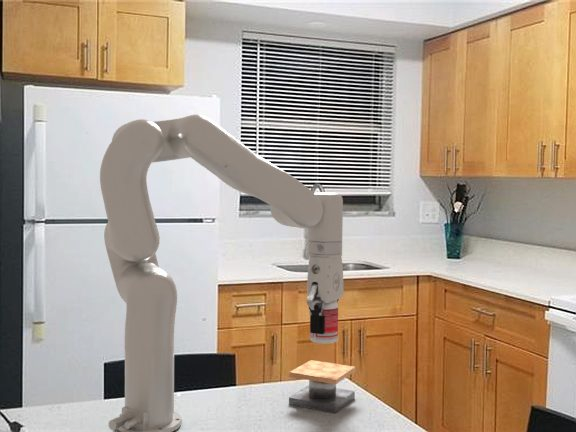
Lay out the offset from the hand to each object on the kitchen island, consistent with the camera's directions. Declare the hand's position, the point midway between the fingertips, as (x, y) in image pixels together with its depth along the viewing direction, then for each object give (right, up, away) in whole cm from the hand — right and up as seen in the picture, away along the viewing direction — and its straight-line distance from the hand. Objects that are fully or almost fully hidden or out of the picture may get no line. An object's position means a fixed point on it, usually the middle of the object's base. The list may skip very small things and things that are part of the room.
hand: (323, 329), depth 146 cm
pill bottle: (0, -3, 0) cm, 3 cm away
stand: (0, -16, +1) cm, 16 cm away
